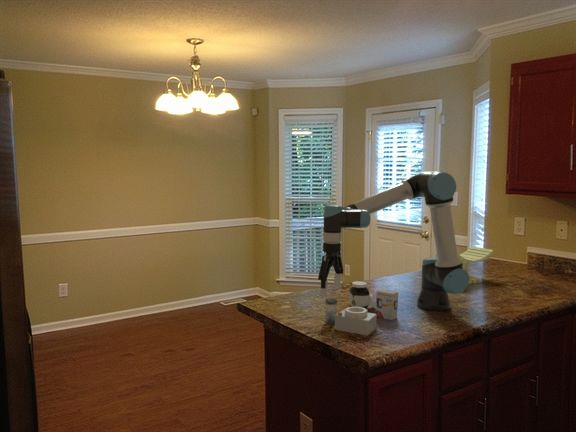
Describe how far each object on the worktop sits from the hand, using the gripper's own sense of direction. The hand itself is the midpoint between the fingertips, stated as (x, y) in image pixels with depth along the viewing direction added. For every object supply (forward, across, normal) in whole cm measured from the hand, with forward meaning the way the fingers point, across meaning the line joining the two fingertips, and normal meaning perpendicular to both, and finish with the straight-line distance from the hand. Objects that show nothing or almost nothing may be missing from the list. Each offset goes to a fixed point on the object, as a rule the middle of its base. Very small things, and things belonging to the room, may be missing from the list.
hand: (330, 292), depth 205 cm
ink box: (+13, -19, +18) cm, 30 cm away
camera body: (+13, +2, +12) cm, 18 cm away
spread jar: (+13, -28, +4) cm, 32 cm away
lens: (+13, 0, 0) cm, 13 cm away
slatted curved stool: (+12, -109, +35) cm, 116 cm away
